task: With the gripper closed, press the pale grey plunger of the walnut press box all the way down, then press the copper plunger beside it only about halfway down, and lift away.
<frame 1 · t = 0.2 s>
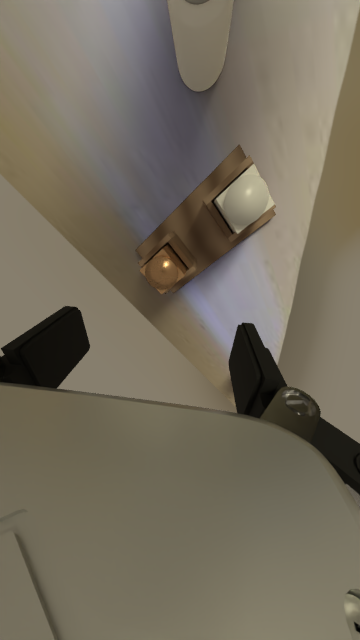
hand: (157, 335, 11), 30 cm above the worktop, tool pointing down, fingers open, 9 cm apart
copper plunger: (165, 267, 30), point 9 cm above the worktop, slide at 0.0 cm
pale plunger: (240, 203, 24), point 9 cm above the worktop, slide at 0.0 cm
can: (201, 58, 24), on the worktop
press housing: (199, 233, 35), on the worktop
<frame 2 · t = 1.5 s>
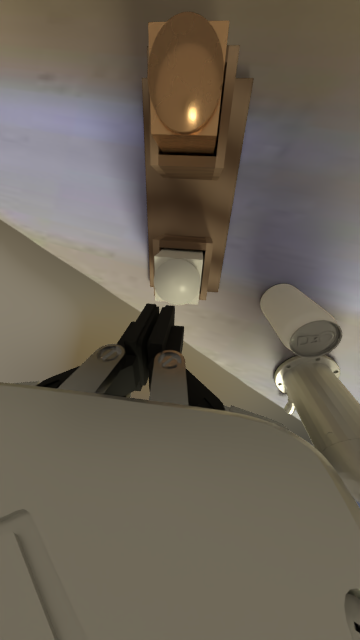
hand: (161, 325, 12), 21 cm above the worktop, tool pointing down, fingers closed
copper plunger: (188, 108, 15), point 9 cm above the worktop, slide at 0.0 cm
pale plunger: (180, 273, 22), point 9 cm above the worktop, slide at 0.0 cm
can: (277, 299, 32), on the worktop
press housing: (189, 209, 26), on the worktop
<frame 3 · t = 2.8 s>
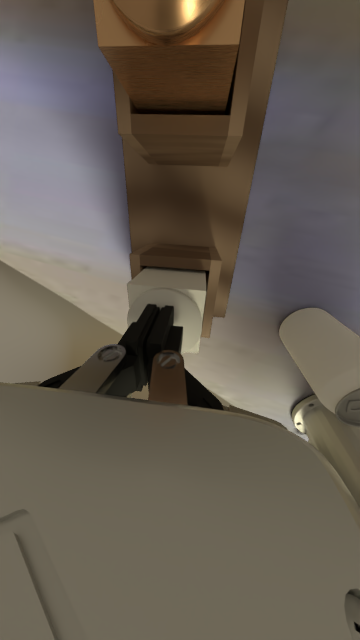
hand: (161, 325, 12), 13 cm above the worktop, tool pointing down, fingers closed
copper plunger: (180, 12, 8), point 9 cm above the worktop, slide at 0.0 cm
pale plunger: (172, 302, 15), point 9 cm above the worktop, slide at 0.3 cm, touching gripper
can: (302, 326, 25), on the worktop
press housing: (186, 209, 19), on the worktop
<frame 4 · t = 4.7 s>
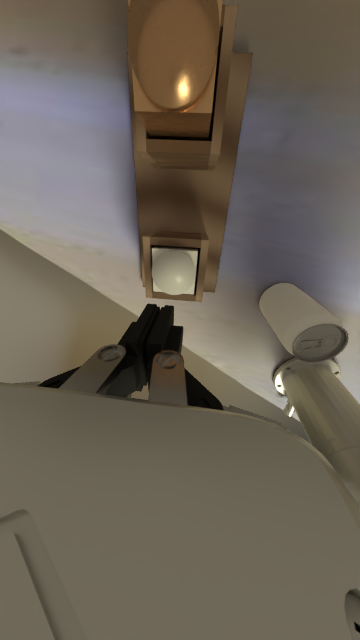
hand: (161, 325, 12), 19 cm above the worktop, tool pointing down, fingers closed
copper plunger: (178, 82, 13), point 9 cm above the worktop, slide at 0.0 cm
pale plunger: (176, 265, 23), point 5 cm above the worktop, slide at 3.6 cm
can: (277, 299, 30), on the worktop
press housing: (182, 203, 24), on the worktop
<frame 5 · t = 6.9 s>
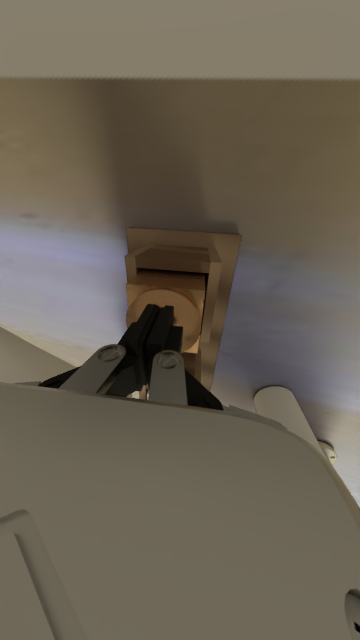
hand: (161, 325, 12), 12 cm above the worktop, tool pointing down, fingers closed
copper plunger: (171, 302, 15), point 8 cm above the worktop, slide at 1.1 cm, touching gripper
pale plunger: (171, 388, 24), point 5 cm above the worktop, slide at 3.6 cm
can: (272, 396, 31), on the worktop
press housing: (178, 324, 25), on the worktop
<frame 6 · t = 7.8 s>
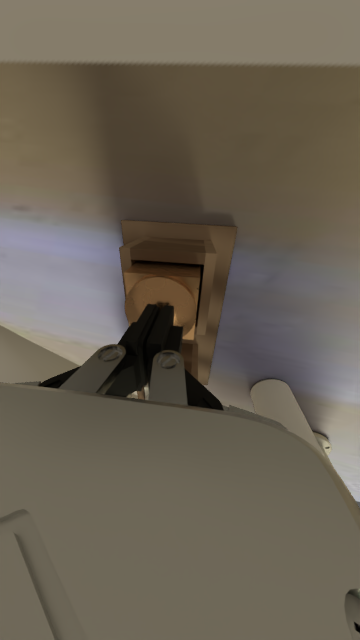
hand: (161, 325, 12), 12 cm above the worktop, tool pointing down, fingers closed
copper plunger: (168, 292, 15), point 7 cm above the worktop, slide at 1.7 cm
pale plunger: (169, 381, 24), point 5 cm above the worktop, slide at 3.6 cm
can: (268, 389, 31), on the worktop
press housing: (175, 318, 25), on the worktop
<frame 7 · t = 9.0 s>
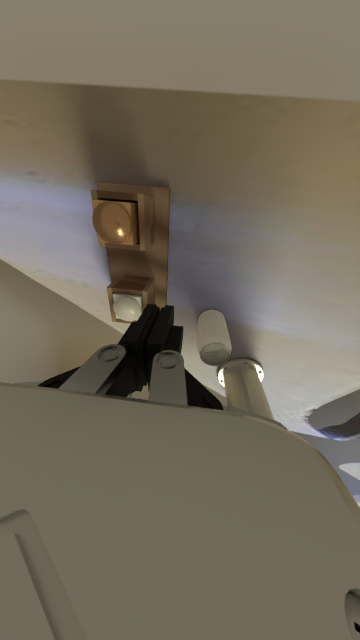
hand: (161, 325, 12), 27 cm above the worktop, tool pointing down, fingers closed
copper plunger: (122, 222, 26), point 7 cm above the worktop, slide at 1.7 cm
pale plunger: (133, 300, 36), point 5 cm above the worktop, slide at 3.6 cm
can: (211, 319, 43), on the worktop
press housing: (138, 258, 36), on the worktop
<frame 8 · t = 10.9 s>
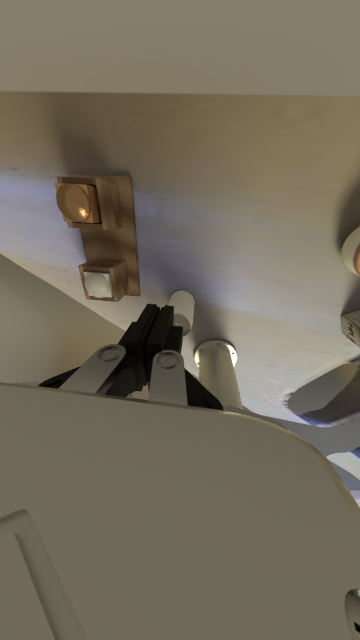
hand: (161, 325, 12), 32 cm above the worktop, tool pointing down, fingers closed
copper plunger: (86, 204, 31), point 7 cm above the worktop, slide at 1.7 cm
pale plunger: (105, 280, 39), point 5 cm above the worktop, slide at 3.6 cm
lidded jar: (359, 243, 36), on the worktop
can: (182, 301, 46), on the worktop
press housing: (111, 243, 40), on the worktop
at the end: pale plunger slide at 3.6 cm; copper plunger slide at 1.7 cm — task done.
